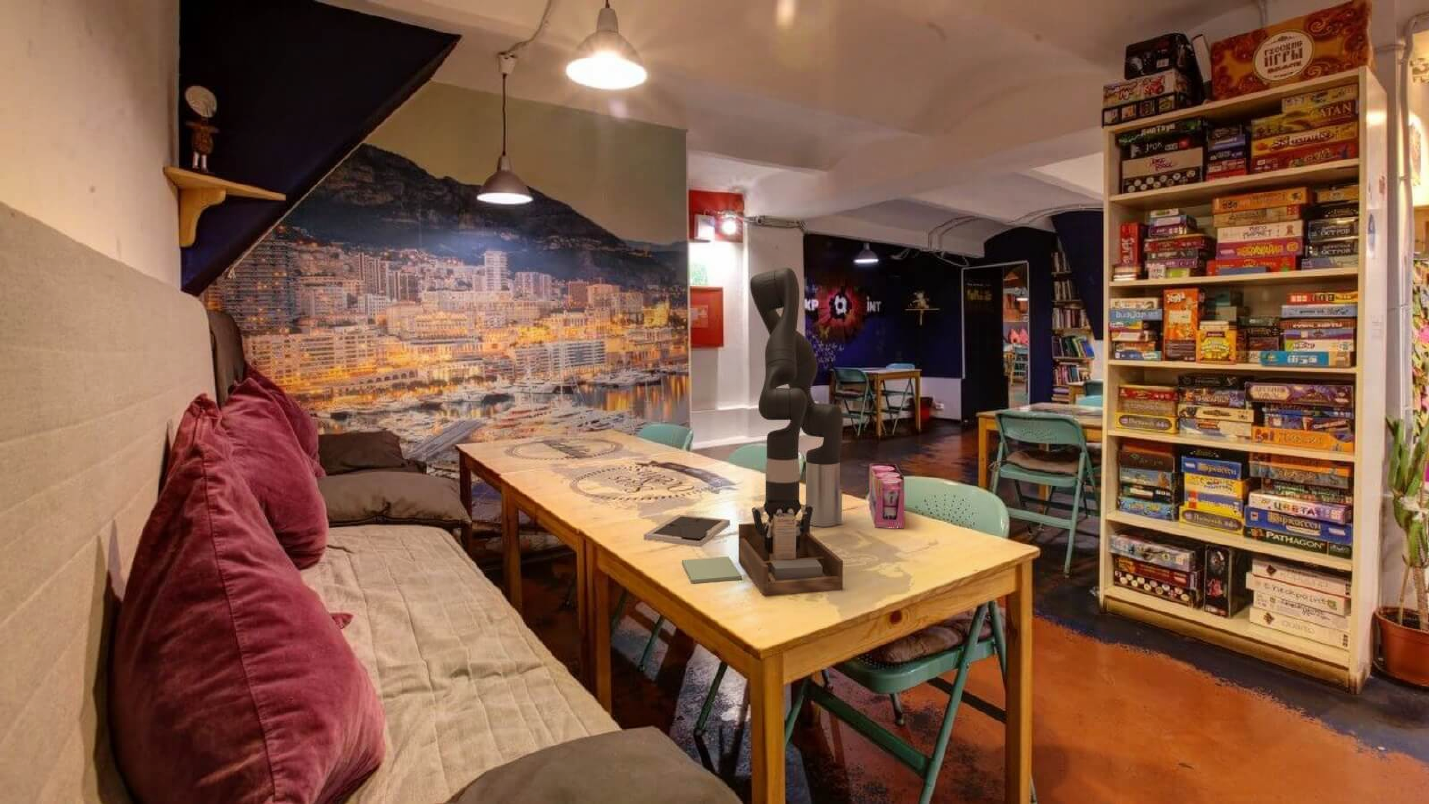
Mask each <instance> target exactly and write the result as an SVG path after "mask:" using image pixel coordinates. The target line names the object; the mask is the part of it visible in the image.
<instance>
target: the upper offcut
mask: <svg viewBox="0 0 1429 804" xmlns="http://www.w3.org/2000/svg"><path fill="white" fill-rule="evenodd" d="M771 574H772V576H773V577H774V579H775V580H793V579H807V578H819V577H822V565H821V564H820V563H819V561H818V560H817V559H812V560H789V561H771Z"/></svg>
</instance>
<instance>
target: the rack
mask: <svg viewBox="0 0 1429 804" xmlns="http://www.w3.org/2000/svg"><path fill="white" fill-rule="evenodd" d="M796 520H797V523H798V527H799V526H800V523H801V519H799V520H798V519H796ZM762 524H763V529H765V528H766V525H767V521H765V522H762ZM812 559H817V560H818V561H819V563H820V564H821V565H822V572H823V573H824V574H825V576H826V577H819V578H807V579H795V580H783V581H771V582H768V573H770V572H771V561H770V554H769V553H768V551H767V550H766V549H765V536H761V535H759V533H758V532H757V531H756V527H755V523H754V522H752V523H738V563H739V564H740V566H741V567H742V569H743V570H744V571H745V573H746V574H747V576H748V577H749V579H750V580H751V581H752V582H753V583H754V585H755V586H756V588H757V589H758V590H759V592H760V593H761V594H762V596H763V597H766V596H768V597H769V596H779V595H790V594H803V593H813V592H822V591H834V590H843V586H844V585H843V583H844V581H843V578H844V573H843V572H844V571H843V570H844V561H843V560H842V558H840V557H839V556H838V555H836V554H835V553H834V552H833V551H832V550H831V549H830V548H828V547H827V546H826V545H825V544H823V543H822V542H821V541H820V540H819V539H818V538H816V537H815V536H814V535H813V534H811V525H809V529H808V532H804V533H802V534H801V535H800V548H799V549H797V552H796V559H787V560H774V561H789V560H812Z"/></svg>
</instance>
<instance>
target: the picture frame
mask: <svg viewBox="0 0 1429 804" xmlns="http://www.w3.org/2000/svg"><path fill="white" fill-rule="evenodd" d="M730 521H731V520H730V519H725V518H715V517H705V516H697V515H687V514H679V513H678V514H676V515H675V516H673V517H671V518H670V519H668V520H666V521H664V522H663V523H661V524H659V525H658V526H655V527H654V528H652V529H650V530H649V531H647V532H645V533H644V534H643V540H644V539H648V540H647V541H650V540H655V541H654V542H658V541H663V542H662V543H666V542H668V544H674V543H675V544H676V545H683V544H687V545H686V546H691V545H694V546H693V547H699V546H700V547H702V546H703V545H704V544H705V543H707V542H708V541H709V540H711V539H713V538H714V537H715V536H716V535H718V534H719V533H721V532H722V531H723V530H725V529H726V528H727V527H729V526H730V525H731V522H730ZM675 544H674V545H675ZM702 544H703V545H702Z"/></svg>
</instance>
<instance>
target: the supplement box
mask: <svg viewBox="0 0 1429 804" xmlns="http://www.w3.org/2000/svg"><path fill="white" fill-rule="evenodd" d="M773 518H774V527H773V535H772V538H773V554H770V561H774V560H787V559H796V520H797V516H796V517H795V515H793V514H788V513H782V514H781V515H775V514H774V515H773ZM771 522H772V520H771Z"/></svg>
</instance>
